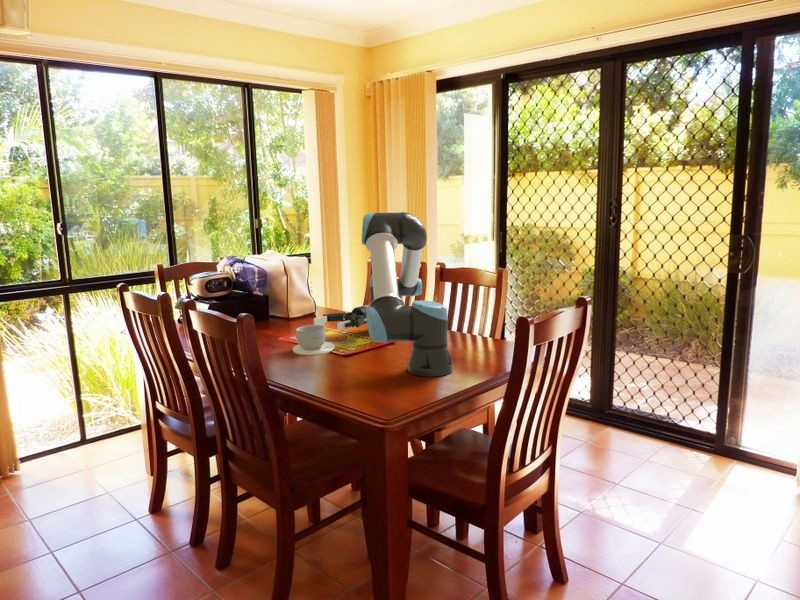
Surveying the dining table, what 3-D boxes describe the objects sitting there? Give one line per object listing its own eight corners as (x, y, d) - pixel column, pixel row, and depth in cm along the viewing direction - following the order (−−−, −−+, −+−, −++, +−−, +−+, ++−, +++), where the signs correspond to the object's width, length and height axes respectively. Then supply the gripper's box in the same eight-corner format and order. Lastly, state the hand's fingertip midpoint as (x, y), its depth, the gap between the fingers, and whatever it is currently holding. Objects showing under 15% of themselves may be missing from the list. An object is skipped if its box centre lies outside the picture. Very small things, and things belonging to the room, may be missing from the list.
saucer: (341, 351, 225) (341, 348, 225) (301, 357, 218) (301, 354, 218) (325, 342, 239) (325, 339, 239) (287, 347, 232) (287, 344, 231)
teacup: (316, 352, 220) (315, 331, 218) (291, 350, 224) (290, 329, 222) (334, 343, 232) (333, 323, 231) (310, 341, 236) (309, 321, 235)
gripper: (386, 327, 241) (348, 338, 225) (343, 319, 257) (305, 329, 241) (385, 309, 239) (348, 319, 223) (342, 302, 255) (304, 311, 239)
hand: (325, 324), depth 232 cm, fingers open, 13 cm apart
